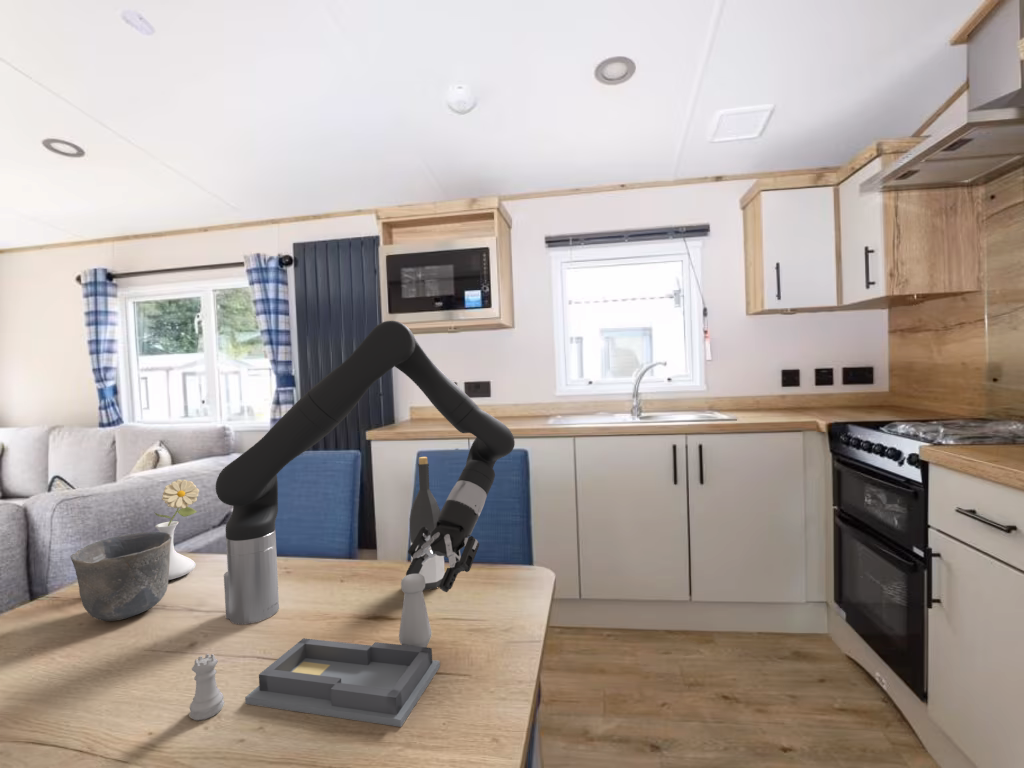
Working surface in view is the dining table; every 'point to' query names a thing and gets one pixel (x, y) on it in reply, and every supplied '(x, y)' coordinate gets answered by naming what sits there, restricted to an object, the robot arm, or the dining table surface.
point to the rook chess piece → (205, 689)
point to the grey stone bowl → (123, 574)
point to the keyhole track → (347, 680)
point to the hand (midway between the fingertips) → (425, 585)
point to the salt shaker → (414, 613)
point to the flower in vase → (178, 497)
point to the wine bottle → (426, 525)
